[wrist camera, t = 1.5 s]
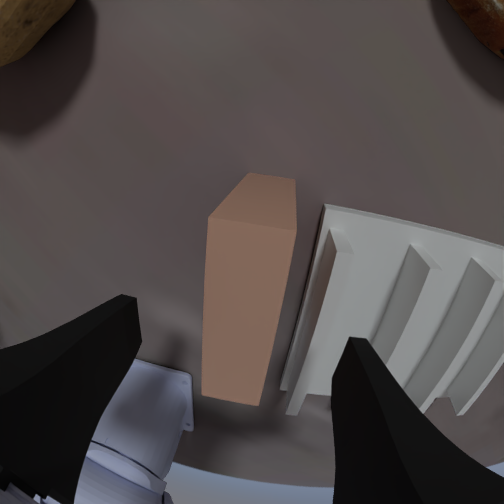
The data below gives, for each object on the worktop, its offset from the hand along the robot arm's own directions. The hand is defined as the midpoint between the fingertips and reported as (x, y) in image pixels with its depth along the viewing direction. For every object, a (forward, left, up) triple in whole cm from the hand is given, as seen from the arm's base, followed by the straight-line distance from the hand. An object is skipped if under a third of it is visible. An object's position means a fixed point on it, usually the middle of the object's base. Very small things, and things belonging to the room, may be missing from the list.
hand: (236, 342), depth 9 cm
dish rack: (-4, -11, -8) cm, 14 cm away
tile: (0, 0, -9) cm, 9 cm away
